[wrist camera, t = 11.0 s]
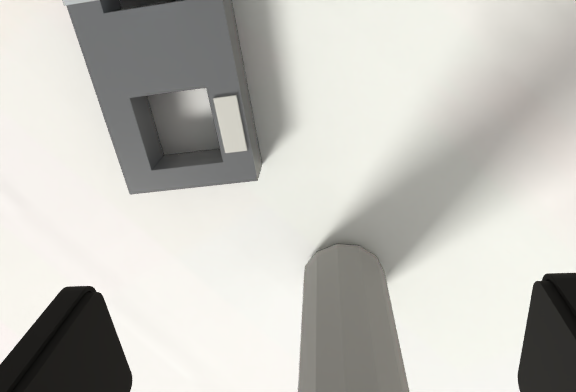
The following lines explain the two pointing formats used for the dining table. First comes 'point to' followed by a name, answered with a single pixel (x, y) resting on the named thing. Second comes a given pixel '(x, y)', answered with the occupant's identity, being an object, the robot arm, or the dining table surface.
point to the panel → (169, 87)
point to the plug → (75, 1)
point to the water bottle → (348, 325)
